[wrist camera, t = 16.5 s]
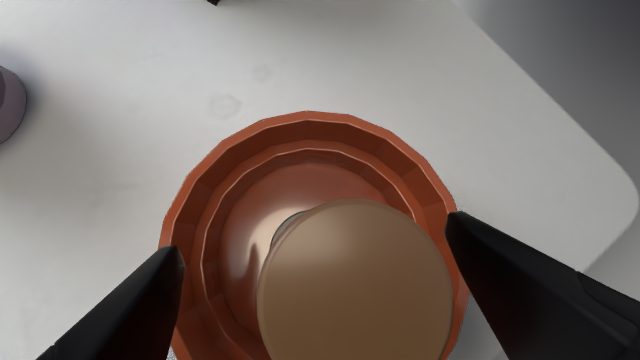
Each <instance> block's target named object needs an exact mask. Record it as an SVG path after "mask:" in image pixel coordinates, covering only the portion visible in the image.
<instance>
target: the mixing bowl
mask: <svg viewBox="0 0 640 360" xmlns="http://www.w3.org/2000/svg"><path fill="white" fill-rule="evenodd" d="M350 198H353V199H366V200H372V201H377V202H380V203H383V204H386V205H388V206H391V207H393V208H395V209H397V210H399V211H401V212H402V213H404V214H405V215H407V216H408V217H410V218H411V219H412V220H413V221H415V222H416V223H417V224H418V225H419V226H420V227H421V228H422V229H423V230H424V231H425V232H426V233H427V234H428V236H429V237H430V238H431V240H432V241H433V242H434V244H435V245H436V247H437V249H438V250H439V252H440V254H441V256H442V258H443V260H444V262H445V265H446V267H447V270H448V273H449V277H450V280H451V285H452V291H453V302H454V311H453V323H452V328H451V334H450V337H449V340H448V343H447V346H446V349H445V351H444V353H443V355H442V357H441V359H440V360H446V359H447V358H448V356H449V355H450V353H451V352H452V350H453V348H454V347H455V345H456V343H457V340H458V337H459V333H460V329H461V325H462V322H463V318H464V314H465V311H466V307H467V303H468V299H469V296H470V290H469V288H468V286H467V285H466V283H465V281H464V279H463V277H462V275H461V273H460V271H459V269H458V266H457V264H456V262H455V260H454V257H453V255H452V253H451V250H450V248H449V246H448V243H447V241H446V239H445V236H444V227H445V223H446V219H447V215H448V214H449V213H450V212H454V211H457V208H456V205H455V202H454V199H453V198H452V195H451V194H450V192H449V191H448V190H447V188H446V187H445V185H444V184H443V182H442V181H441V180H440V178H439V177H438V175H437V174H436V172H435V171H434V170H433V168H432V167H431V165H430V164H429V163H428V161H427V160H425V158H424V157H423V156H421V155H420V154H419V153H418V152H416V151H415V150H414V149H413V148H411V147H410V146H409V145H408V144H406V143H405V142H404V141H403V140H401V139H400V138H399V137H398V136H396V135H395V134H394V133H392V132H390V131H389V130H387V129H384V128H382V127H379V126H377V125H374V124H372V123H369V122H367V121H364V120H362V119H359V118H357V117H354V116H352V115H349V114H338V113H327V112H317V111H301V112H296V113H291V114H286V115H281V116H276V117H271V118H266V119H262V120H260V121H258V122H256V123H254V124H252V125H250V126H248V127H246V128H245V129H243V130H241V131H239V132H237V133H235V134H233V135H231V136H230V137H228V138H226V139H224V140H222V142H220V143H219V144H218V145H217V146H216V147H215V148H214V149H213V150H212V151H211V152H210V153H209V154H208V155H207V156H206V157H205V158H204V159H203V160H202V161H201V162H200V163H199V164H198V165H197V166H196V167H195V168H194V169H193V170H192V171H191V172H190V173H189V174H188V176H186V178H185V180H184V182H183V184H182V186H181V188H180V190H179V191H178V193H177V195H176V197H175V199H174V201H173V203H172V205H171V206H170V208H169V210H168V212H167V214H166V216H165V218H164V219H165V220H163V225H162V230H161V236H160V241H159V246H158V250H159V249H160V248H161V247H163V246H168V245H177V246H178V248H179V250H180V252H181V255H182V257H183V259H184V262H185V275H184V281H183V288H182V294H181V301H180V307H179V313H178V318H177V322H176V326H175V329H174V333H173V337H172V340H171V344H170V345H171V348H172V350H173V352H174V354H175V356H176V358H177V360H272V358H271V357H270V355H269V353H268V351H267V349H266V346H265V344H264V342H263V338H262V335H261V332H260V328H259V323H258V317H257V287H258V282H259V277H260V273H261V270H262V267H263V264H264V261H265V259H266V257H267V254H268V252H269V248H270V244H271V241H272V238H273V236H274V234H275V232H276V230H277V229H278V227H279V226H280V225H281V224H282V223H283V222H284V221H285V220H286V219H287V218H289V217H290V216H292V215H294V214H295V213H298V212H301V211H304V210H310V209H312V208H314V207H316V206H318V205H321V204H324V203H326V202H330V201H335V200H339V199H350Z"/></svg>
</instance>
